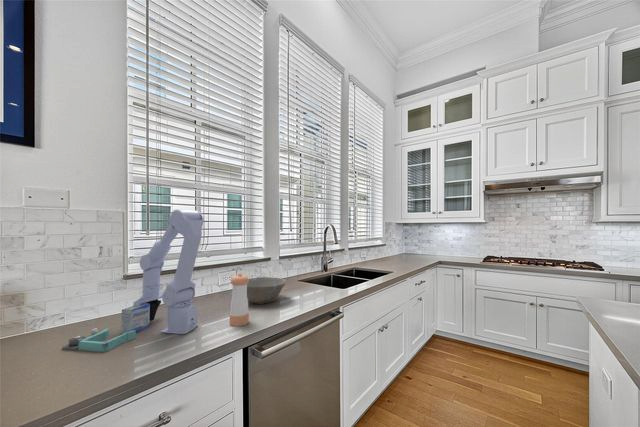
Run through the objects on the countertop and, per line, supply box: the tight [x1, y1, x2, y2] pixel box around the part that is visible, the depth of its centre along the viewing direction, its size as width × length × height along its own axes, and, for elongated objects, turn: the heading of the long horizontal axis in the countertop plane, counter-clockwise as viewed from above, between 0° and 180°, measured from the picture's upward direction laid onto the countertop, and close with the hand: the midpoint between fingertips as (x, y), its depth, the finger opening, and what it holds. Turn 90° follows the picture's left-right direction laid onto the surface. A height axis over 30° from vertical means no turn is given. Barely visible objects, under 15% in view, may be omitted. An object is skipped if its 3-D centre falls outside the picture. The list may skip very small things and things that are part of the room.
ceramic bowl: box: [247, 276, 287, 305], centre depth 135 cm, size 22×23×10 cm
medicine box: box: [120, 303, 150, 334], centre depth 99 cm, size 8×4×9 cm, turn 168°
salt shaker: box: [229, 273, 250, 327], centre depth 107 cm, size 7×7×19 cm
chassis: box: [62, 327, 137, 353], centre depth 88 cm, size 16×11×3 cm
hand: (150, 320), depth 106 cm, fingers closed
